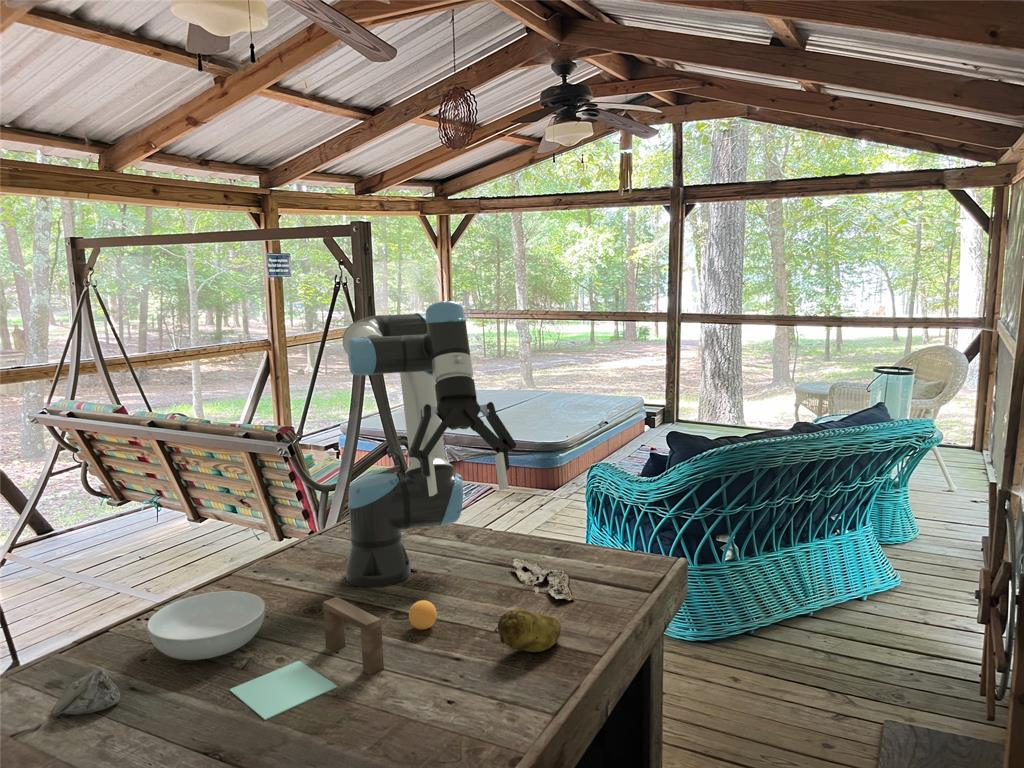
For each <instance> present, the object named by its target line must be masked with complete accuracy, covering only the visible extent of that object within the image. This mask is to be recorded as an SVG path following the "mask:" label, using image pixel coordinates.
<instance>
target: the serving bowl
mask: <svg viewBox="0 0 1024 768" xmlns="http://www.w3.org/2000/svg"><path fill="white" fill-rule="evenodd" d="M265 613H266V604H265V601H264V600H263V598H261V597H260V596H258V595H257V594H254V593H251V592H248V591H247V592H246V591H238V590H226V591H225V590H223V591H222V590H221V591H211V592H207V593H202V594H195V595H192V596H188V597H185V598H182V599H179V600H177V601H174V602H172V603H170V604H168V605H165V606H163V607H162V608H160V609H158V611H156V612H155V613H154V614H152V615H151V616H150V618H149V620H148V621H147V624H146V628H147V633H148V636H149V639H150V641H151V643H152V645H154V647H155V649H157V650H158V651H159V652H161V653H162V654H163V655H166V656H167V657H171V658H174V659H178V660H183V661H184V660H186V661H198V660H205V659H207V660H208V659H211V658H216V657H220V656H223V655H227V654H228V653H231V652H233V651H236V650H237V649H239V648H241V647H243V646H244V645H246V644H247V643H248V642H249V641H251V640H252V639H253V638H254V637H255V636H256V634H258V632H259V630H260V629H261V627H262V625H263V623H264V619H265Z"/></svg>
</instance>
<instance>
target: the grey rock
mask: <svg viewBox="0 0 1024 768" xmlns="http://www.w3.org/2000/svg"><path fill="white" fill-rule="evenodd" d="M119 701H121V692H120V690H119V688H118V685H116V683H114V682H113V680H112V679H111V678H109V672H108V671H107V669H104V668H103V667H97V668H96V669H94V670H92V671H91V672H90V673H88V674H86V675H84V676H83V677H81V678H79V679H78V680H77V681H73V682H72V683H71V684H70V685H69V686H68V687H67V689H66V690H65V691H64V692H63V693H62V695H61V696H60V697H59V698H58V700H57V702H56V703H55V704H54V706H53V709H52V711H51V715H53V717H57V716H59V715H61V714H68V715H85V714H92V713H96V712H100V711H103V710H106V709H108V708H110V707H113V706H114V705H116V704H117V703H118V702H119Z"/></svg>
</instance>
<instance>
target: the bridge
mask: <svg viewBox="0 0 1024 768" xmlns="http://www.w3.org/2000/svg"><path fill="white" fill-rule="evenodd" d="M322 608H323V609H322V610H323V622H324V623H323V625H324V638H325V649H326V648H327V649H326V650H328V651H330V652H335V651H336V650H339V649H341V648H343V647H344V648H345V647H346V645H347V644H346V632H345V631H346V630H345V621H346V622H348V623H350V624H352V625H354V626H355V627H358V628H360V640H361V643H360V644H361V656H362V657H361V659H362V671H363V673H365V674H367V675H369V676H370V675H373V674H375V673H377V672H379V671H382V670H384V668H385V667H384V666H385V665H384V662H385V661H384V648H383V636H382V635H383V633H382V632H383V630H382V619H381V618H379V617H377V616H375V615H373V614H371V613H369V612H367V611H365V610H363V609H361V608H360V607H357V606H356V605H354V604H352V603H350V602H347V601H346V600H344V599H342V598H340V597H338V596H335V597H332V598H330V599H327V600H324V601H322ZM334 650H335V651H334Z"/></svg>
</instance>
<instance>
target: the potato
mask: <svg viewBox="0 0 1024 768" xmlns="http://www.w3.org/2000/svg"><path fill="white" fill-rule="evenodd" d="M561 626H562V625H561V623H560V621H559V620H558V619H557V618H556V617H554V616H551V615H549V614H544V613H537V612H532V611H529V610H527V609H521V608H520V609H519V608H518V609H512V610H509V611H507V612H505V613H503V614H502V615H500V618H499V619H498V621H497V631H498V636H499V638H500V643H501V644H503V645H504V644H505V646H507V647H509V648H510V649H512V650H515V651H517V650H518V651H526V652H530V653H541V652H543V651H547V650H548V649H551V648H553V646H554V645H555V644H556V643H557V642H558V640H559V639H560V636H561V632H562V631H561V629H562V627H561Z"/></svg>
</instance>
